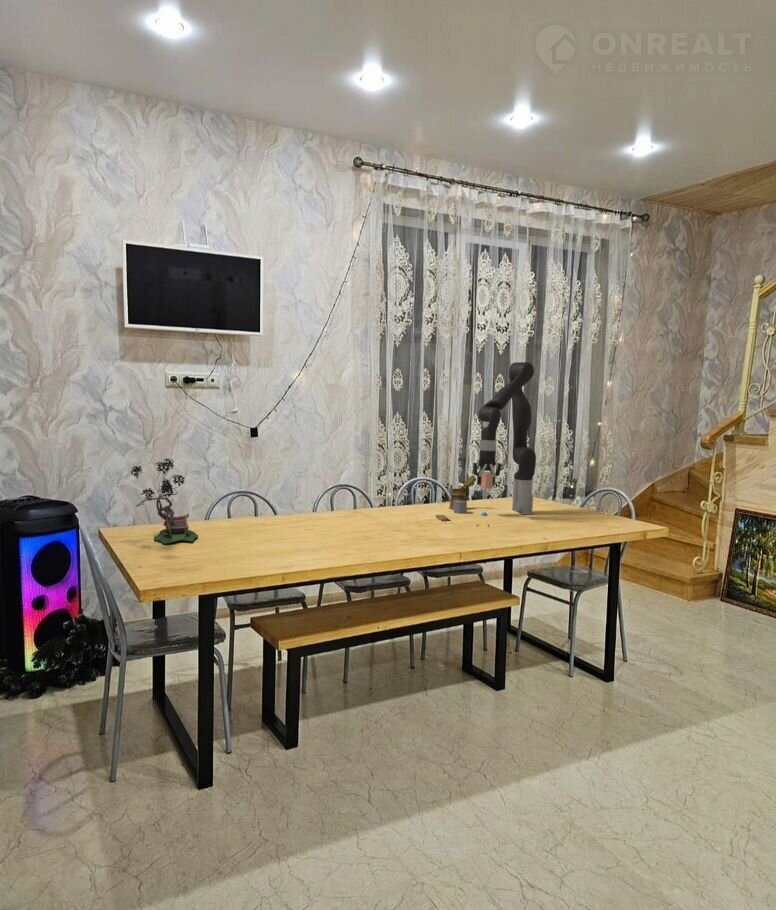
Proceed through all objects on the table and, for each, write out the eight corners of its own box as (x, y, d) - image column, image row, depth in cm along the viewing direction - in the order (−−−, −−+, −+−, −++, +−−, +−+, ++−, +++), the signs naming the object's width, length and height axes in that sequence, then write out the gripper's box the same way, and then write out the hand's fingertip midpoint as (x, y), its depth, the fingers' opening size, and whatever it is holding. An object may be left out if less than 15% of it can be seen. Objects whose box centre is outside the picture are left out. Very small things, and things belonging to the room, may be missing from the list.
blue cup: (463, 514, 347) (464, 500, 346) (467, 516, 341) (468, 502, 340) (452, 514, 345) (452, 500, 345) (455, 516, 340) (456, 502, 339)
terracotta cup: (489, 486, 340) (490, 472, 339) (494, 488, 334) (494, 473, 333) (477, 486, 339) (478, 472, 338) (481, 488, 333) (482, 473, 332)
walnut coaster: (456, 517, 339) (456, 514, 338) (462, 521, 329) (462, 518, 329) (435, 517, 337) (436, 514, 337) (441, 521, 327) (441, 518, 327)
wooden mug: (477, 512, 354) (479, 476, 352) (454, 513, 348) (456, 477, 346) (467, 508, 362) (469, 474, 360) (444, 510, 355) (446, 474, 353)
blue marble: (486, 517, 340) (486, 511, 340) (488, 519, 337) (488, 512, 337) (480, 517, 339) (480, 511, 339) (482, 519, 336) (482, 512, 336)
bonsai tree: (127, 534, 278) (127, 454, 275) (190, 530, 290) (190, 453, 287) (142, 555, 248) (142, 466, 244) (212, 549, 260) (213, 464, 256)
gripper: (499, 448, 340) (497, 483, 341) (470, 448, 337) (469, 483, 339) (504, 450, 332) (503, 485, 334) (475, 449, 330) (473, 485, 331)
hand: (485, 484), depth 336 cm, fingers closed on terracotta cup, 5 cm apart
